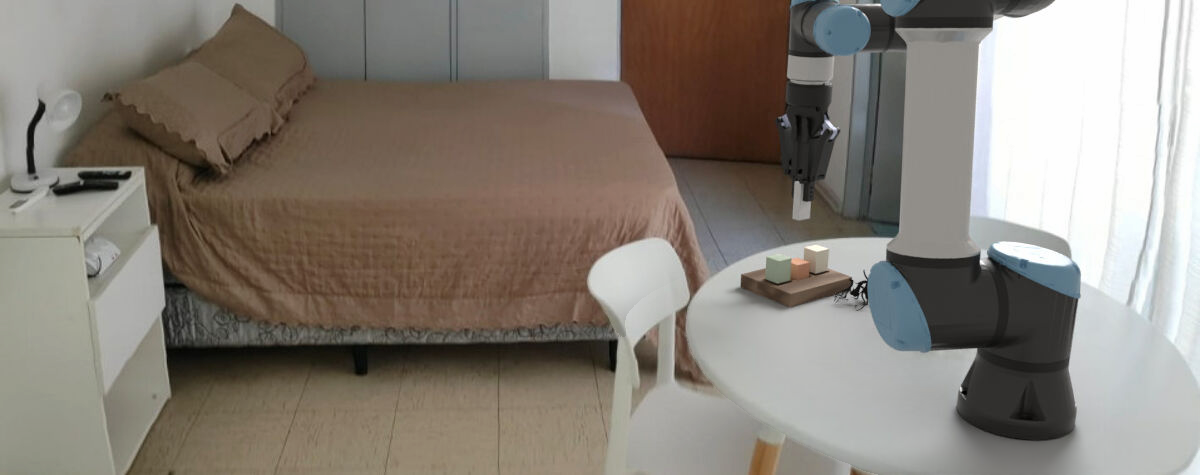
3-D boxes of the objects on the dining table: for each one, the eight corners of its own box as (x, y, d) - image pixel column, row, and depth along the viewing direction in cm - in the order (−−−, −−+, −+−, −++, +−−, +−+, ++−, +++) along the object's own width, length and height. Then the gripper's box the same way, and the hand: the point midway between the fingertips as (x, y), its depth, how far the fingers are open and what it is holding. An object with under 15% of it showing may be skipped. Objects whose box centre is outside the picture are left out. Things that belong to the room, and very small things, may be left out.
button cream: (827, 270, 208) (829, 248, 207) (815, 273, 206) (817, 251, 205) (814, 266, 210) (816, 244, 209) (802, 269, 209) (804, 247, 208)
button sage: (790, 280, 203) (791, 258, 202) (777, 283, 201) (779, 261, 200) (777, 275, 205) (779, 253, 204) (765, 278, 203) (766, 256, 202)
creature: (848, 319, 196) (889, 304, 198) (844, 290, 194) (886, 275, 196) (824, 303, 203) (864, 289, 205) (820, 275, 201) (861, 261, 203)
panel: (851, 290, 206) (852, 277, 206) (789, 307, 198) (790, 293, 197) (800, 271, 215) (801, 259, 215) (740, 287, 207) (741, 274, 206)
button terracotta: (808, 284, 206) (809, 262, 205) (796, 287, 204) (797, 265, 203) (795, 279, 208) (797, 257, 207) (783, 282, 207) (785, 260, 205)
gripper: (855, 84, 193) (845, 223, 200) (797, 73, 203) (789, 207, 210) (823, 88, 189) (813, 230, 195) (765, 77, 199) (758, 213, 205)
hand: (801, 218), depth 202 cm, fingers closed
